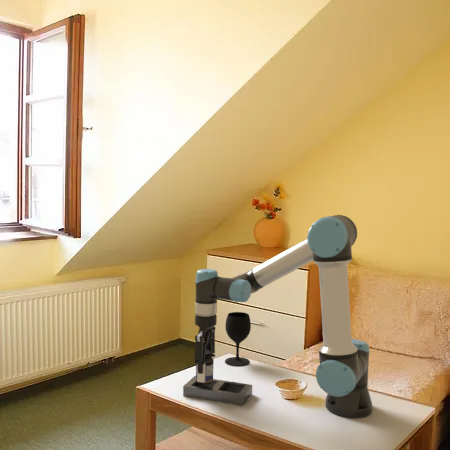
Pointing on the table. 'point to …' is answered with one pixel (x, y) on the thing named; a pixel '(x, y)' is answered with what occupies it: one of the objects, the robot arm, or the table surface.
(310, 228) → the robot arm
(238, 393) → the rectangular frame
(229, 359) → the wine glass
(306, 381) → the table surface
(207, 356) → the pill bottle
